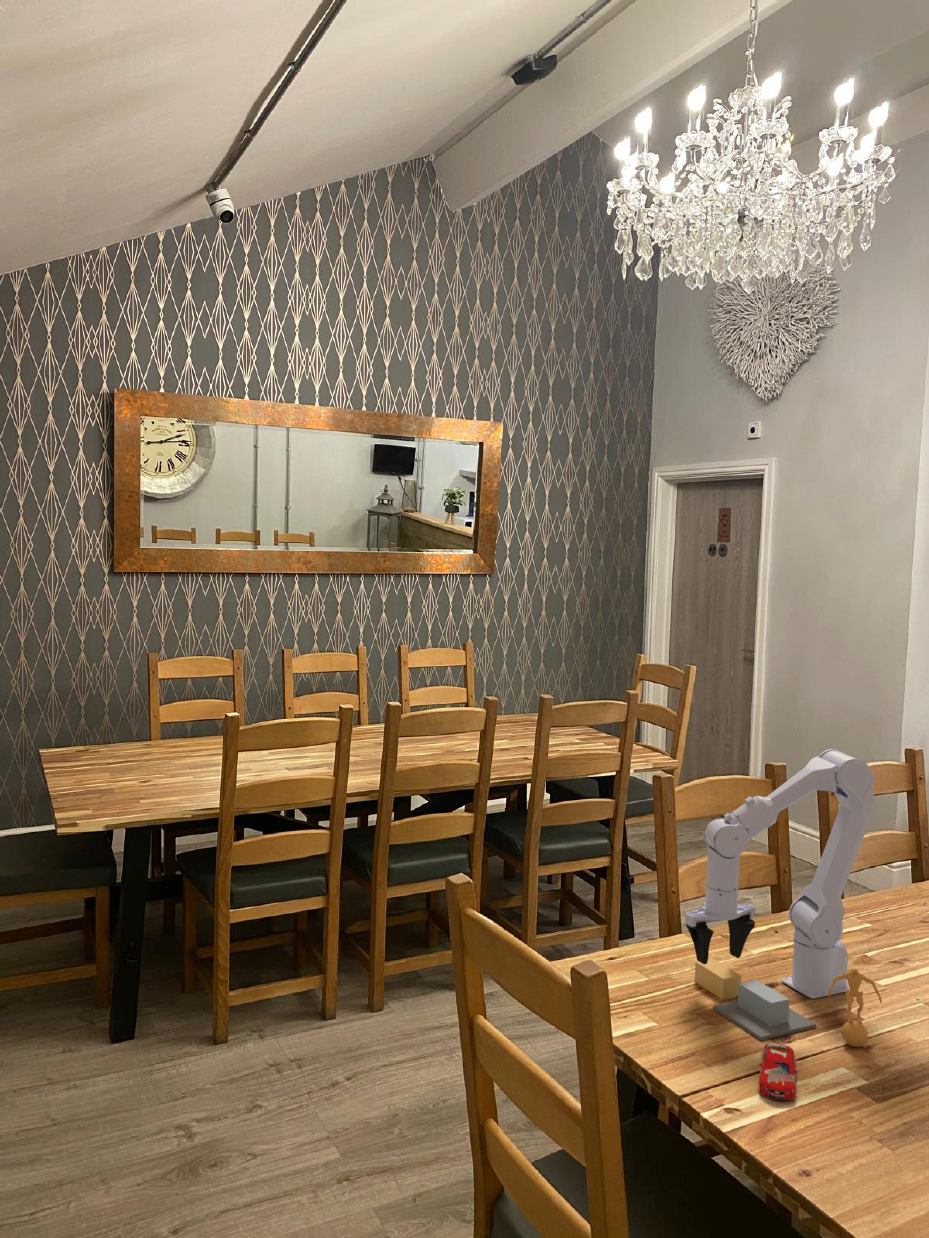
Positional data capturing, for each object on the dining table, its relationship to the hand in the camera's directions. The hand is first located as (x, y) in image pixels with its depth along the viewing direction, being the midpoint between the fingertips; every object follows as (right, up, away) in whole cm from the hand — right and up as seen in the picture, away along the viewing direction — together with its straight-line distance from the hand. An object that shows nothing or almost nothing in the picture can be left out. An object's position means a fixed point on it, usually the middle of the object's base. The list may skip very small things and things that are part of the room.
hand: (718, 958), depth 174 cm
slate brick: (+5, -6, -10) cm, 13 cm away
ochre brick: (0, -6, +1) cm, 6 cm away
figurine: (+17, -7, -18) cm, 26 cm away
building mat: (+5, -6, -11) cm, 13 cm away
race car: (+1, -8, -30) cm, 31 cm away
